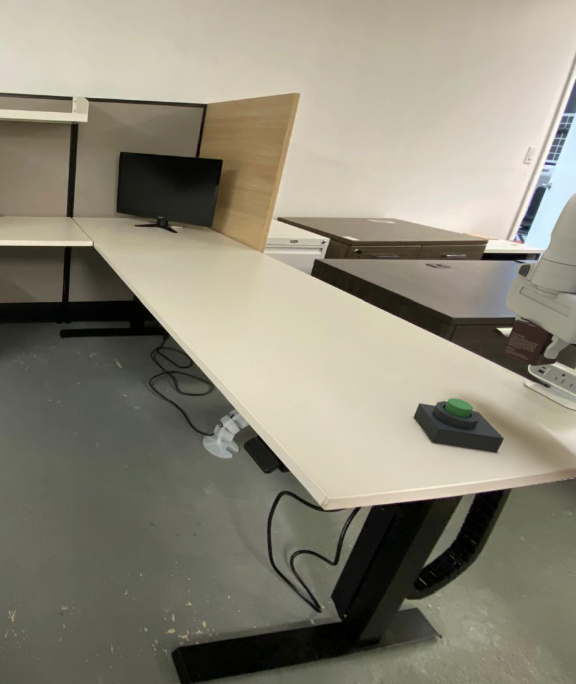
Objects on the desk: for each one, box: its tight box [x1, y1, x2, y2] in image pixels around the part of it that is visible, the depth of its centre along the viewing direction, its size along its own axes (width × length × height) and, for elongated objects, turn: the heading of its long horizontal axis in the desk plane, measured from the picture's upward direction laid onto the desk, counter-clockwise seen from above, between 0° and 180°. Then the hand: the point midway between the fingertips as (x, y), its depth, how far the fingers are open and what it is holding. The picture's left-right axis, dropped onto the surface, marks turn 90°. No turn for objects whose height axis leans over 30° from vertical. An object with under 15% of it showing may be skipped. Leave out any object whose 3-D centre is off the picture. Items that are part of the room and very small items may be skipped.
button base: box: [413, 400, 505, 453], centre depth 89 cm, size 11×9×5 cm
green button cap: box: [444, 397, 474, 418], centre depth 88 cm, size 4×4×2 cm
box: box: [501, 319, 562, 367], centre depth 89 cm, size 6×6×7 cm
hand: (532, 347), depth 90 cm, fingers closed on box, 7 cm apart
